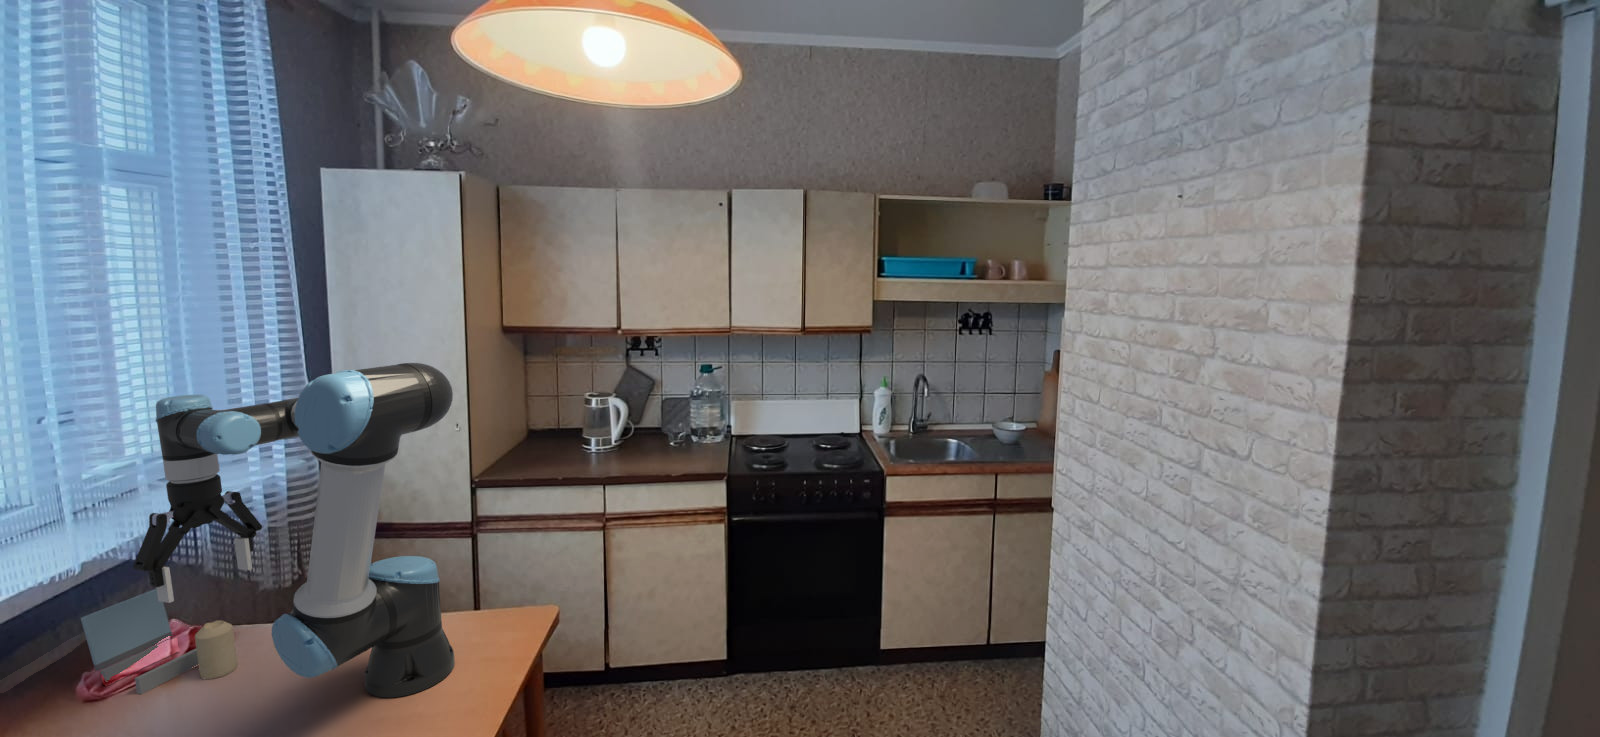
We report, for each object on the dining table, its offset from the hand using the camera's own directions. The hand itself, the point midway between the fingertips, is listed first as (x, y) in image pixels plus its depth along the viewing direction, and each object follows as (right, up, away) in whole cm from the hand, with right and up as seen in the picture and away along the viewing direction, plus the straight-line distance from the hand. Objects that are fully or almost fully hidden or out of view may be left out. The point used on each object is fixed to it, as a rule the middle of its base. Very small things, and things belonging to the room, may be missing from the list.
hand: (207, 584), depth 126 cm
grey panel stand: (-12, -18, +2) cm, 21 cm away
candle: (0, -18, +3) cm, 18 cm away
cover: (-18, -9, +3) cm, 20 cm away
